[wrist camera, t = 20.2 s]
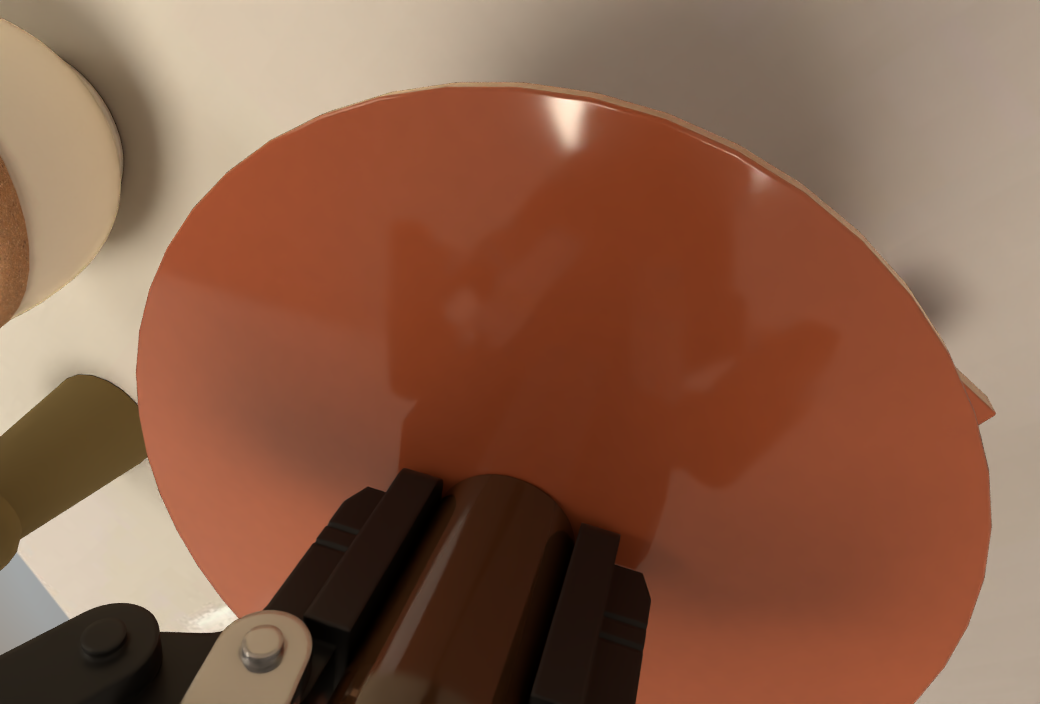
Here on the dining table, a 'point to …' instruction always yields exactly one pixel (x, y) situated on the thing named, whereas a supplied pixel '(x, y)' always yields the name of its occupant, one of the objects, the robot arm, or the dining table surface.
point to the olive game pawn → (64, 454)
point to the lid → (567, 399)
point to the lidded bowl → (50, 172)
